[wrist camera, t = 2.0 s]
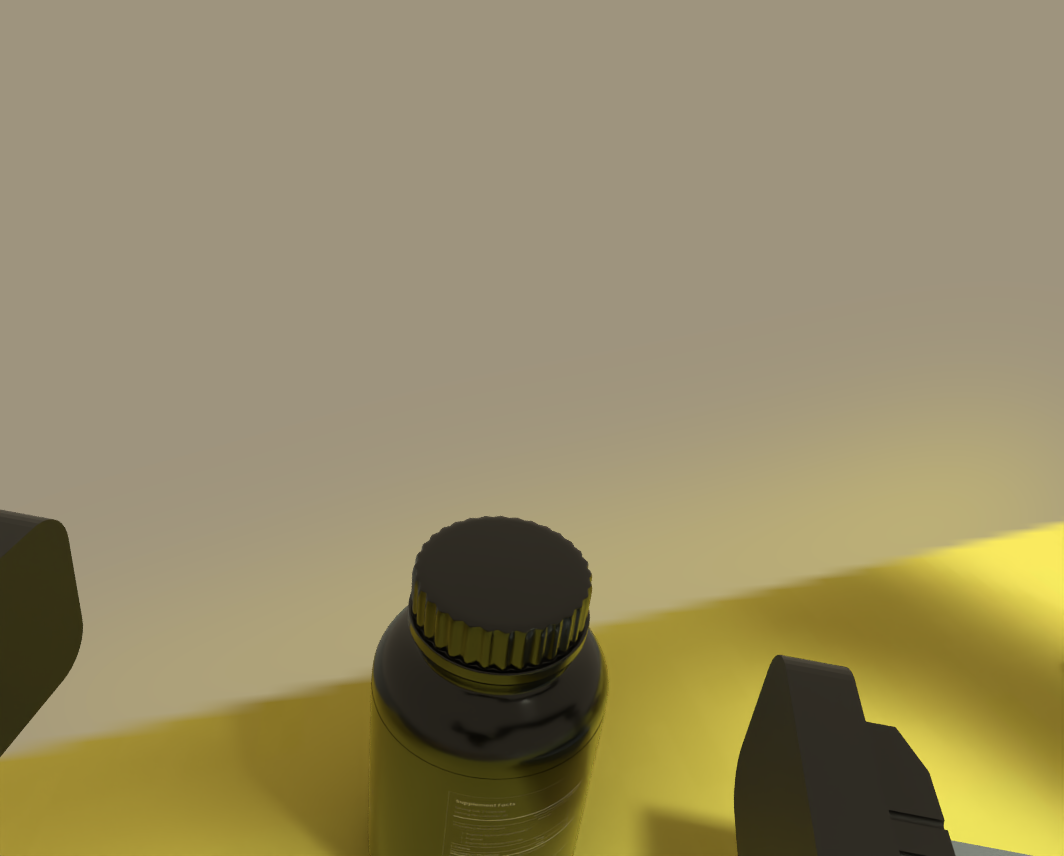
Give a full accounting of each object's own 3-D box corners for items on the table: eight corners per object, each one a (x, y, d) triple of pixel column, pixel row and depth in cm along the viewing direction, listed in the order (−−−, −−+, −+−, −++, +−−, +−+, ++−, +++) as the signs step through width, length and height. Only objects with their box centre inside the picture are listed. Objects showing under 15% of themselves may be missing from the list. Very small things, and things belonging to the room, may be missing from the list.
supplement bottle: (344, 790, 31) (347, 509, 25) (524, 741, 33) (565, 477, 27) (399, 984, 25) (419, 686, 19) (607, 907, 28) (681, 625, 22)
